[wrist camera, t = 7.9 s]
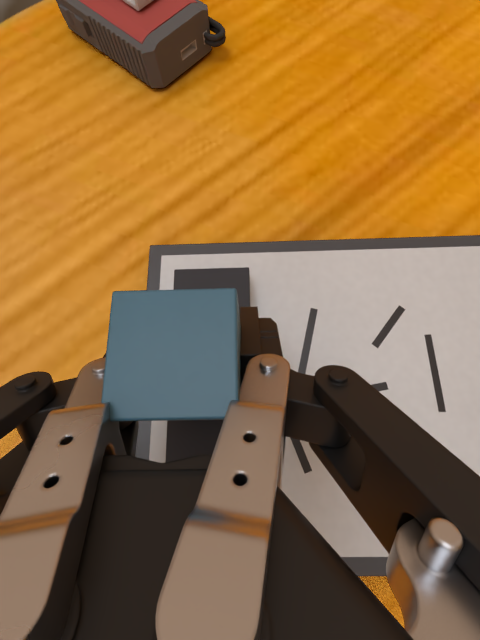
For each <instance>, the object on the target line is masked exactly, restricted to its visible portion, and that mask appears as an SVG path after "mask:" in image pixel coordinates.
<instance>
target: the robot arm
mask: <svg viewBox="0 0 480 640" xmlns="http://www.w3.org/2000/svg"><path fill="white" fill-rule="evenodd" d="M240 323H241V340H240V361H241V387H240V391H239V400H231V401H230V403H229V406H228V409H227V412H226V415H225V418H224V421H223V424H222V427H221V430H220V433H219V436H218V439H217V442H216V445H215V448H214V451H213V454H200V455H196V456H192V457H187V458H183V459H179V460H175V461H170V462H166V463H159V462H155V461H150V460H146V459H142V458H138V457H135V455H136V446H137V438H138V430H139V423H138V421H110V410H109V402H105V403H101V399H102V389H103V380H104V370H105V361H106V354H105V355H104V357H103V358H100V359H97V360H94V361H92V362H90V363H88V364H87V365H85V366H84V367H83V368H82V369H81V371H80V372H79V375H78V377H77V378H73V379H68V380H64V381H59V382H55V383H54V382H53V380H52V377H51V375H50V374H49V373H46V372H32V373H27V374H24V375H22V376H19V377H17V378H15V379H13V380H11V381H10V382H8V383H7V384H5V385H3V386H2V387H0V439H1V438H3V437H4V436H5V435H7V434H8V433H9V432H11V431H12V430H13V429H15V428H17V430H18V432H19V434H20V436H21V438H22V440H23V441H22V442H21V443H20V444H19V445H17V446H16V447H15V448H14V449H12V450H11V451H10V452H9V453H7V454H6V455H5V456H4V457H2V458H1V459H0V640H480V476H479V475H478V474H477V473H475V472H474V471H473V470H472V469H471V468H469V467H468V466H467V465H466V464H465V463H463V462H462V461H461V460H460V459H459V458H457V457H456V456H455V455H454V454H453V453H451V452H450V451H449V450H448V449H447V448H446V447H444V446H443V445H442V444H441V443H440V442H438V441H437V440H436V439H435V438H434V437H432V436H431V435H430V434H429V433H428V432H426V431H425V430H424V429H423V428H422V427H420V426H419V425H418V424H417V423H416V422H414V421H413V420H412V419H411V418H410V417H409V416H407V415H406V414H405V413H404V412H403V411H401V410H400V409H399V408H398V407H397V406H395V405H394V404H393V403H392V402H391V401H389V400H388V399H387V398H386V397H385V396H383V395H382V394H381V393H380V392H379V391H377V390H376V389H375V388H374V387H373V386H372V385H370V384H369V383H368V382H367V381H366V380H364V379H363V378H362V377H361V376H360V375H358V374H357V373H356V372H355V371H353V370H351V369H349V368H347V367H344V366H339V365H327V366H323V367H321V368H319V369H318V370H317V371H316V372H315V376H312V375H307V374H302V373H299V372H296V371H294V370H292V369H290V364H289V362H288V361H287V360H286V359H285V358H283V354H282V349H281V343H280V338H279V333H278V327H277V323H276V322H275V321H273V320H272V319H271V318H259V317H258V306H256V307H240ZM286 436H287V437H290V438H294V439H298V440H302V441H306V442H309V445H310V447H311V449H312V450H313V452H314V453H315V454H316V456H317V457H318V458H319V460H320V461H321V462H322V464H323V465H324V467H325V468H326V469H327V471H328V472H329V473H330V475H331V476H332V477H333V479H334V480H335V481H336V483H337V484H338V486H339V487H340V488H341V490H342V491H343V492H344V494H345V495H346V496H347V498H348V499H349V501H350V502H351V503H352V505H353V506H354V507H355V509H356V510H357V511H358V513H359V514H360V515H361V517H362V518H363V520H364V521H365V522H366V524H367V525H368V526H369V528H370V529H371V530H372V532H373V533H374V535H375V536H376V537H377V539H378V540H379V541H380V543H381V544H382V545H383V547H384V548H385V549H386V551H387V552H388V554H389V556H388V559H387V563H386V575H387V579H388V583H389V586H390V588H391V590H392V592H393V594H394V596H395V598H396V599H397V601H398V603H399V606H400V608H401V611H402V614H403V618H404V625H405V629H404V628H403V627H402V626H401V625H400V623H399V622H398V621H397V620H396V619H395V618H394V617H393V615H392V614H391V613H390V612H389V611H388V610H387V609H386V608H385V606H384V605H383V604H382V603H381V602H380V601H379V600H378V599H377V597H376V596H375V595H374V594H373V593H372V592H371V591H370V590H369V588H368V587H367V586H366V585H365V584H364V583H363V582H362V580H361V579H360V578H359V577H358V576H357V575H356V574H355V573H354V571H353V570H352V569H351V568H350V567H349V566H348V565H347V564H346V562H345V561H344V560H343V559H342V558H341V557H340V556H339V554H338V553H337V552H336V551H335V550H334V549H333V548H332V547H331V545H330V544H329V543H328V542H327V541H326V540H325V539H324V538H323V536H322V535H321V534H320V533H319V532H318V531H317V530H316V529H315V527H314V526H313V525H312V524H311V523H310V522H309V521H308V519H307V518H306V517H305V516H304V515H303V514H302V513H301V512H300V510H299V509H298V508H297V507H296V506H295V505H294V504H293V503H292V501H291V500H290V499H289V498H288V497H287V496H286V495H285V493H284V492H283V491H282V490H281V488H282V475H283V464H284V454H285V444H286Z"/></svg>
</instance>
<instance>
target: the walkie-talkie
mask: <svg viewBox="0 0 480 640" xmlns="http://www.w3.org/2000/svg"><path fill="white" fill-rule="evenodd" d="M56 1H57V3H58V6H59V8H60V11H61V13H62V15H63V17H64V19H65V21H66V23H67V25H68V27H69V28H70V29H71V30H72V31H74V32H75V33H76V34H78V35H79V36H81V37H82V38H83V39H85V40H86V41H88V42H89V43H90V44H92V45H93V46H94V47H96V48H97V49H99V50H100V51H101V52H103V53H105V54H106V55H107V56H109V57H110V58H111V59H113V60H114V61H115V62H118V63H119V65H122V66H123V67H124V68H125V69H127V70H128V71H129V72H131V73H132V74H133V75H136V76H137V78H139V79H141V80H142V81H143V82H145V83H146V84H147V85H149V86H151V88H164V87H166V86H167V85H168V84H170V83H171V82H172V81H174V80H175V79H176V78H177V77H179V76H180V75H181V74H182V73H184V72H185V71H186V70H187V69H189V68H190V67H191V66H193V65H194V64H195V63H196V62H198V61H199V60H200V59H201V58H203V57H204V56H205V55H206V54H208V53H209V52H210V51H211V50H212V49H211V46H212V47H217V46H220V45H222V44H223V43H224V42H225V38H226V37H225V29H224V28H223V26H222V25H221V24H220V23H218V22H217V21H215V20H213V19H212V18H210V17H209V16H208V9H207V5H205V4H204V3H203V2H201V1H199V0H56ZM210 30H211V31H213V32H214V33H216V34H215V35H213V34H210Z"/></svg>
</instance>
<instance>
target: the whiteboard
mask: <svg viewBox="0 0 480 640" xmlns="http://www.w3.org/2000/svg"><path fill="white" fill-rule="evenodd" d="M243 267H249V275H250V307H256V306H258V317H259V318H271V319H272V320H273V321H275V322H276V323H277V327H278V333H279V338H280V343H281V349H282V354H283V358H285V359H286V360H287V361H288V362H289V364H290V369H292V370H294V371H296V372H299V373H302V374H307V375H312V376H315V372H316V371H317V370H318V369H319V368H321V367H323V366H327V365H339V366H344V367H347V368H349V369H351V370H353V371H355V372H356V373H357V374H358V375H360V376H361V377H362V378H363V379H364V380H366V381H367V382H368V383H369V384H370V385H372V386H373V387H374V388H375V389H376V390H377V391H379V392H380V393H381V394H382V395H383V396H385V397H386V398H387V399H388V400H389V401H391V402H392V403H393V404H394V405H395V406H397V407H398V408H399V409H400V410H401V411H403V412H404V413H405V414H406V415H407V416H409V417H410V418H411V419H412V420H413V421H414V422H416V423H417V424H418V425H419V426H420V427H422V428H423V429H424V430H425V431H426V432H428V433H429V434H430V435H431V436H432V437H434V438H435V439H436V440H437V441H438V442H440V443H441V444H442V445H443V446H444V447H446V448H447V449H448V450H449V451H450V452H451V453H453V454H454V455H455V456H456V457H457V458H459V459H460V460H461V461H462V462H463V463H465V464H466V465H467V466H468V467H469V468H471V469H472V470H473V471H474V472H475V473H477V474H478V475H479V476H480V235H474V236H441V237H408V238H375V239H343V240H310V241H277V242H245V243H212V244H179V245H151V246H150V253H149V266H148V280H147V290H173V288H174V270H175V269H208V268H243ZM138 423H139V430H138V438H137V446H136V455H135V457H138V458H142V459H146V460H150V461H155V462H159V463H165V460H166V438H167V421H138ZM281 490H282V491H283V492H284V493H285V495H286V496H287V497H288V498H289V499H290V500H291V501H292V503H293V504H294V505H295V506H296V507H297V508H298V509H299V510H300V512H301V513H302V514H303V515H304V516H305V517H306V518H307V519H308V521H309V522H310V523H311V524H312V525H313V526H314V527H315V529H316V530H317V531H318V532H319V533H320V534H321V535H322V536H323V538H324V539H325V540H326V541H327V542H328V543H329V544H330V545H331V547H332V548H333V549H334V550H335V551H336V552H337V553H338V554H339V556H340V557H341V558H342V559H343V560H344V561H345V562H346V564H347V565H348V566H349V567H350V568H351V569H352V570H353V571H354V573H355V574H356V575H357V576H387V575H386V563H387V559H388V556H389V554H388V552H387V551H386V549H385V548H384V547H383V545H382V544H381V543H380V541H379V540H378V539H377V537H376V536H375V535H374V533H373V532H372V530H371V529H370V528H369V526H368V525H367V524H366V522H365V521H364V520H363V518H362V517H361V515H360V514H359V513H358V511H357V510H356V509H355V507H354V506H353V505H352V503H351V502H350V501H349V499H348V498H347V496H346V495H345V494H344V492H343V491H342V490H341V488H340V487H339V486H338V484H337V483H336V481H335V480H334V479H333V477H332V476H331V475H330V473H329V472H328V471H327V469H326V468H325V467H324V465H323V464H322V462H321V461H320V460H319V458H318V457H317V456H316V454H315V453H314V452H313V450H312V449H311V447H310V445H309V442H306V441H302V440H298V439H294V438H290V437H287V436H286V444H285V454H284V464H283V475H282V488H281Z"/></svg>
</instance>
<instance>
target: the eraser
mask: <svg viewBox="0 0 480 640" xmlns="http://www.w3.org/2000/svg"><path fill="white" fill-rule="evenodd" d="M240 307H250V275H249V267H243V268H208V269H175V270H174V288H173V290H142V291H114V292H113V294H112V303H111V313H110V323H109V332H108V342H107V351H106V361H105V370H104V380H103V389H102V399H101V403H105V402H109V410H110V421H167V438H166V460H165V463H166V462H170V461H175V460H179V459H183V458H187V457H192V456H196V455H200V454H213V451H214V448H215V445H216V442H217V439H218V436H219V433H220V430H221V427H222V424H223V421H224V418H225V415H226V412H227V409H228V406H229V403H230V401H231V400H239V391H240V387H241V361H240V340H241V323H240Z"/></svg>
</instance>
